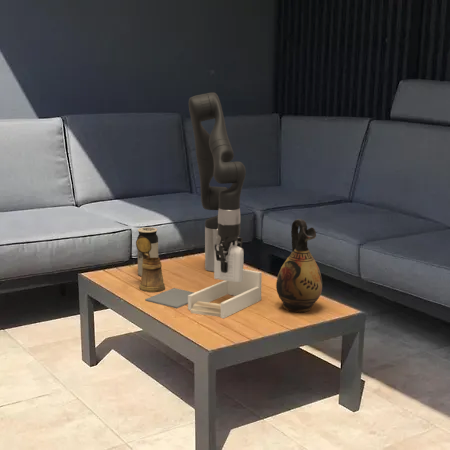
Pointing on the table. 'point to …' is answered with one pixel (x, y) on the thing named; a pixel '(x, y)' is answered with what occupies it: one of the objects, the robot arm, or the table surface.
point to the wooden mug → (150, 268)
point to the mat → (171, 298)
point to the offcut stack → (207, 309)
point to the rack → (231, 293)
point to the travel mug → (153, 238)
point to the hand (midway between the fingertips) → (228, 270)
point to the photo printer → (231, 266)
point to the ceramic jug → (299, 272)
